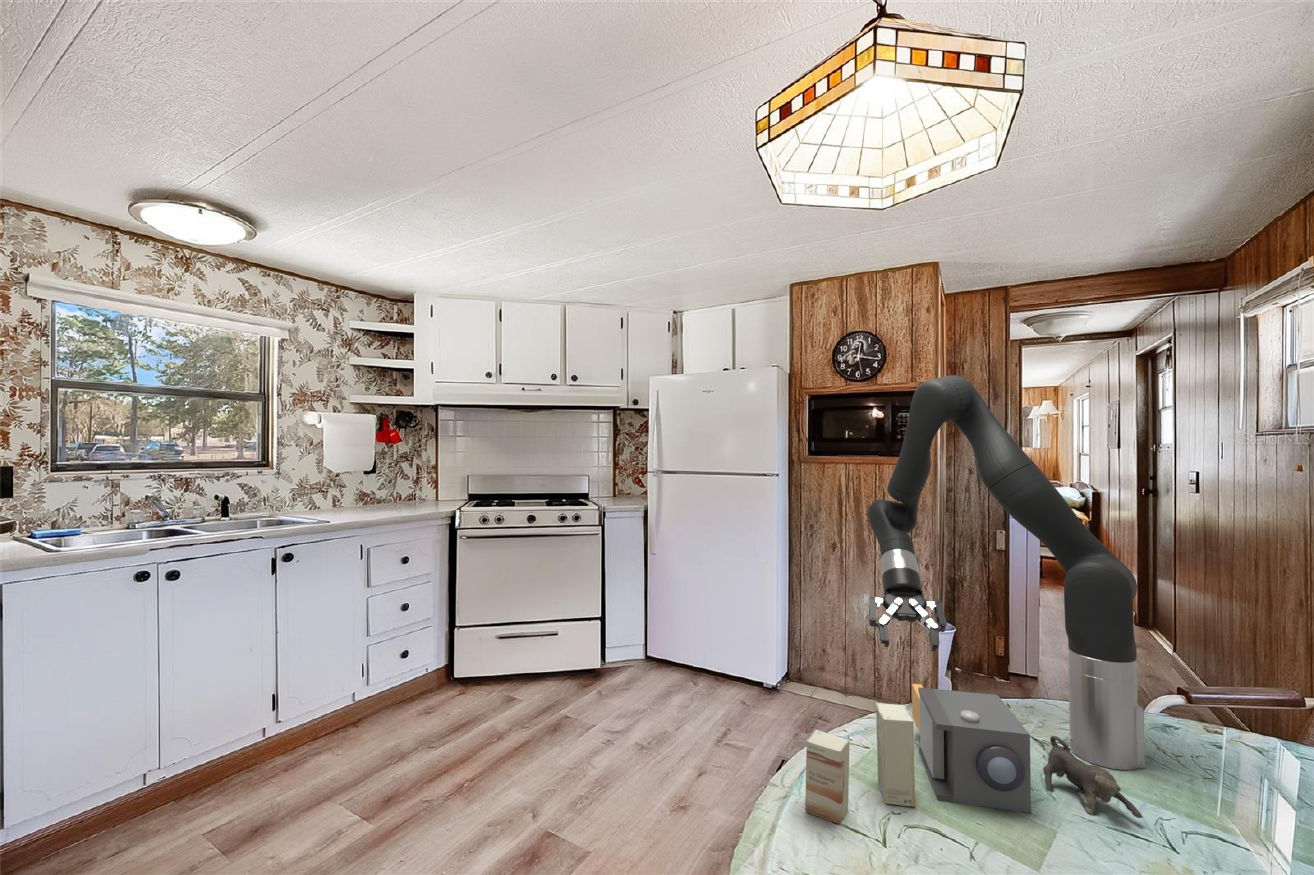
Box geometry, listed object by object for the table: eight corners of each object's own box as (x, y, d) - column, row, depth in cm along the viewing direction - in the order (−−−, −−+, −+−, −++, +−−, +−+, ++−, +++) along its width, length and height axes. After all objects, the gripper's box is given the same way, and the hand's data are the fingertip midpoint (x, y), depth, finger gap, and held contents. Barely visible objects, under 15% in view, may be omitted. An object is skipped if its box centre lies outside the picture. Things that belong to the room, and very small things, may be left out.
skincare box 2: (916, 808, 82) (915, 722, 83) (883, 804, 83) (882, 719, 83) (906, 784, 88) (905, 704, 89) (875, 780, 89) (875, 701, 90)
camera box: (998, 762, 95) (997, 690, 95) (1034, 818, 80) (1033, 733, 80) (918, 752, 98) (918, 682, 98) (939, 804, 83) (938, 722, 83)
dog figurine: (1035, 783, 89) (1034, 734, 89) (1066, 779, 90) (1065, 731, 91) (1110, 832, 77) (1109, 775, 78) (1145, 827, 79) (1143, 771, 79)
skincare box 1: (804, 812, 81) (804, 740, 81) (814, 797, 85) (814, 728, 85) (841, 826, 78) (841, 751, 78) (850, 809, 82) (850, 738, 82)
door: (921, 728, 104) (921, 679, 104) (944, 779, 88) (943, 721, 88) (912, 727, 105) (912, 678, 105) (932, 777, 88) (932, 719, 88)
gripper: (866, 564, 122) (872, 634, 111) (939, 567, 118) (953, 641, 107) (864, 583, 127) (870, 653, 115) (934, 588, 123) (947, 660, 112)
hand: (910, 647), depth 111 cm, fingers open, 8 cm apart
